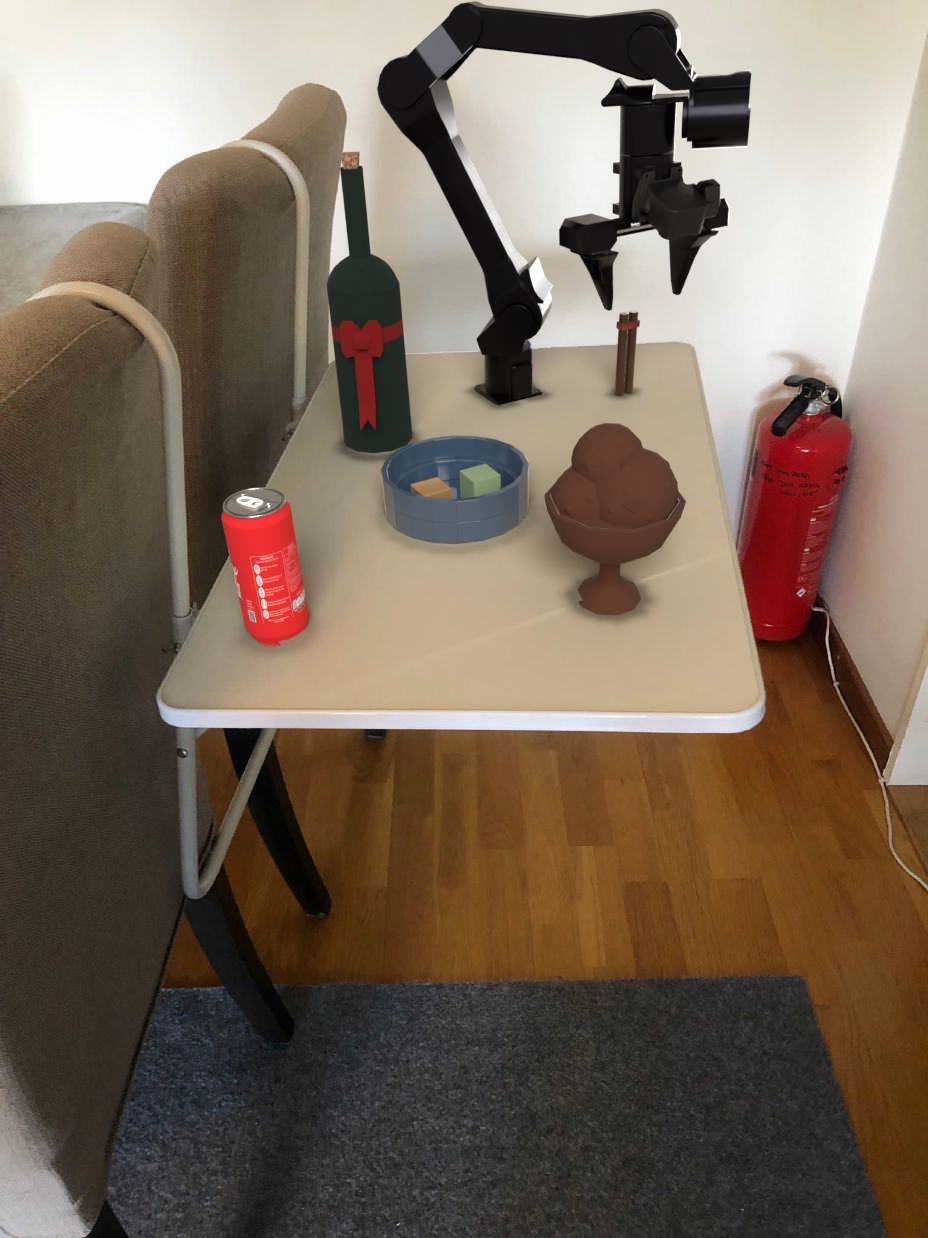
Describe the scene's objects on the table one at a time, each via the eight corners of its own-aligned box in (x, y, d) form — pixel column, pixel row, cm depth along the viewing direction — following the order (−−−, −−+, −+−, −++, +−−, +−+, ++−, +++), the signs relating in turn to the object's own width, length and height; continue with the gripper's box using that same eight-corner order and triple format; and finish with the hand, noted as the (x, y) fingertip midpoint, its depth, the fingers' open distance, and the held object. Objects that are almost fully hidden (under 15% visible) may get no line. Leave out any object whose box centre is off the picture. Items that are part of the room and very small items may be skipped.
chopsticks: (612, 393, 115) (616, 312, 109) (629, 389, 116) (634, 309, 110) (617, 396, 114) (622, 315, 108) (634, 392, 115) (640, 311, 109)
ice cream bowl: (524, 615, 76) (523, 450, 68) (574, 552, 84) (580, 396, 76) (646, 648, 72) (663, 476, 63) (688, 577, 80) (708, 416, 71)
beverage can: (281, 656, 73) (256, 524, 66) (234, 637, 75) (204, 508, 69) (323, 623, 77) (303, 494, 70) (276, 606, 79) (252, 480, 72)
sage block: (460, 497, 93) (459, 470, 91) (486, 490, 94) (485, 463, 92) (474, 509, 90) (473, 482, 89) (501, 501, 91) (500, 474, 90)
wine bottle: (336, 467, 101) (296, 166, 83) (349, 429, 109) (316, 147, 91) (407, 466, 100) (383, 163, 83) (415, 427, 108) (395, 144, 91)
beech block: (412, 511, 91) (410, 483, 89) (439, 503, 92) (437, 476, 90) (425, 524, 88) (423, 496, 87) (453, 516, 90) (451, 488, 88)
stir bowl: (363, 501, 94) (358, 456, 91) (484, 467, 99) (483, 424, 96) (424, 564, 84) (421, 516, 81) (556, 523, 89) (557, 476, 86)
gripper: (610, 174, 88) (609, 336, 97) (769, 146, 93) (754, 302, 102) (554, 161, 97) (558, 311, 105) (703, 136, 102) (694, 281, 111)
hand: (642, 301), depth 106 cm, fingers open, 9 cm apart
